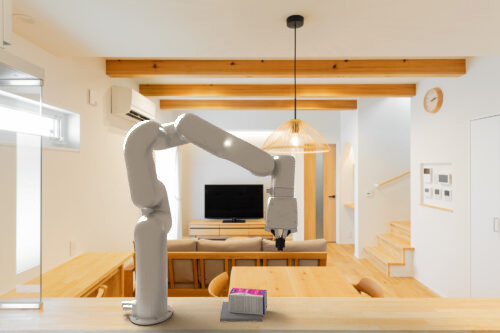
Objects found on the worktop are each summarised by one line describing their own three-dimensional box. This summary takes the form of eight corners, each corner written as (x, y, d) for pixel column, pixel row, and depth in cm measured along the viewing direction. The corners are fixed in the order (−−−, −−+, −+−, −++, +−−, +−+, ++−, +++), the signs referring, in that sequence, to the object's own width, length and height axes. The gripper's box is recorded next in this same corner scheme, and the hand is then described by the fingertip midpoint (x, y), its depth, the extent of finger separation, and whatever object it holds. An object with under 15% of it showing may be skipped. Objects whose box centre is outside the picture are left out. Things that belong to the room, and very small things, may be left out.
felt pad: (220, 321, 92) (220, 318, 92) (222, 304, 104) (222, 301, 104) (262, 321, 92) (262, 318, 93) (259, 303, 104) (260, 301, 104)
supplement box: (264, 296, 94) (227, 294, 96) (265, 315, 94) (228, 313, 96) (266, 288, 100) (232, 287, 102) (267, 307, 100) (232, 305, 102)
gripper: (259, 192, 97) (257, 252, 96) (307, 195, 97) (305, 254, 96) (258, 191, 104) (256, 246, 104) (303, 193, 104) (300, 248, 104)
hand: (279, 249), depth 100 cm, fingers closed
